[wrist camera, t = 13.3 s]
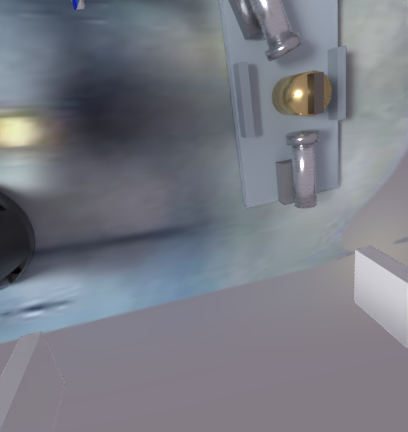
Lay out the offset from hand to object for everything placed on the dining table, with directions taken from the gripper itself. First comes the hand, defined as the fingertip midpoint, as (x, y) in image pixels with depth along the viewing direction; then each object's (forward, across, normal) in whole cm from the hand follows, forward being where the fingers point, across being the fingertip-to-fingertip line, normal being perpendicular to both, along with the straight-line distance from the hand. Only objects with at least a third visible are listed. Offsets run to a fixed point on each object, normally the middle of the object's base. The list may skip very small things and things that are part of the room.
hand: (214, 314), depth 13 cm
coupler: (+31, +19, +7) cm, 37 cm away
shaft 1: (+31, +16, +16) cm, 39 cm away
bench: (+33, +19, +7) cm, 38 cm away
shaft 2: (+30, +19, -3) cm, 35 cm away
